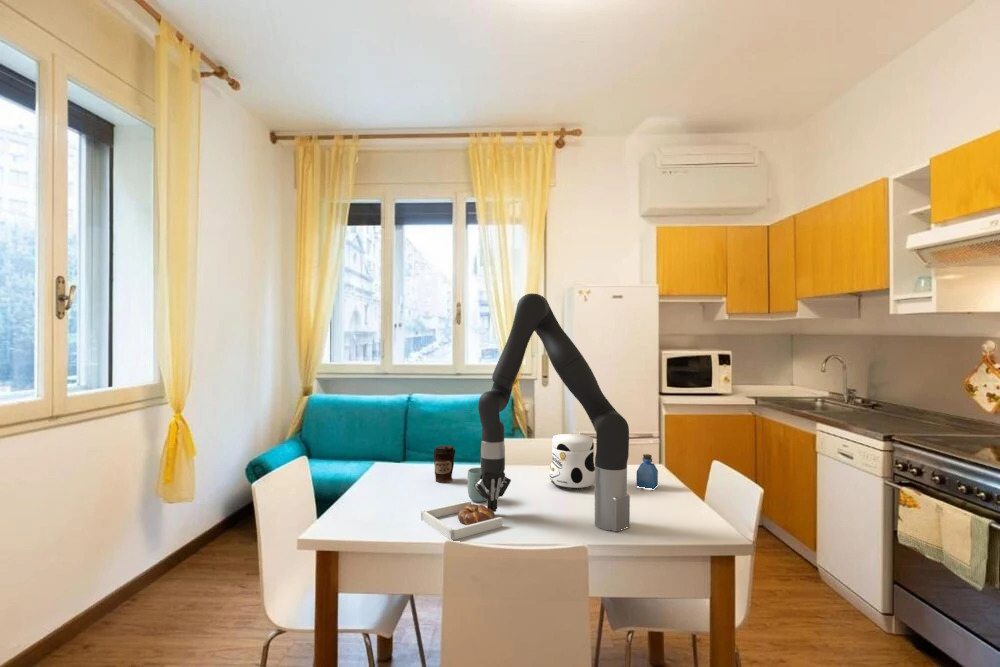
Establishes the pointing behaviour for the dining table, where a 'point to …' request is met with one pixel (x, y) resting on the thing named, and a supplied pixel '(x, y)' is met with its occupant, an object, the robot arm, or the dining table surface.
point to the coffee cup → (444, 463)
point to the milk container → (572, 461)
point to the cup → (473, 478)
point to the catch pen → (460, 532)
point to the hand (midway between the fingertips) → (492, 511)
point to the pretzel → (475, 514)
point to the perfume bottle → (647, 473)
